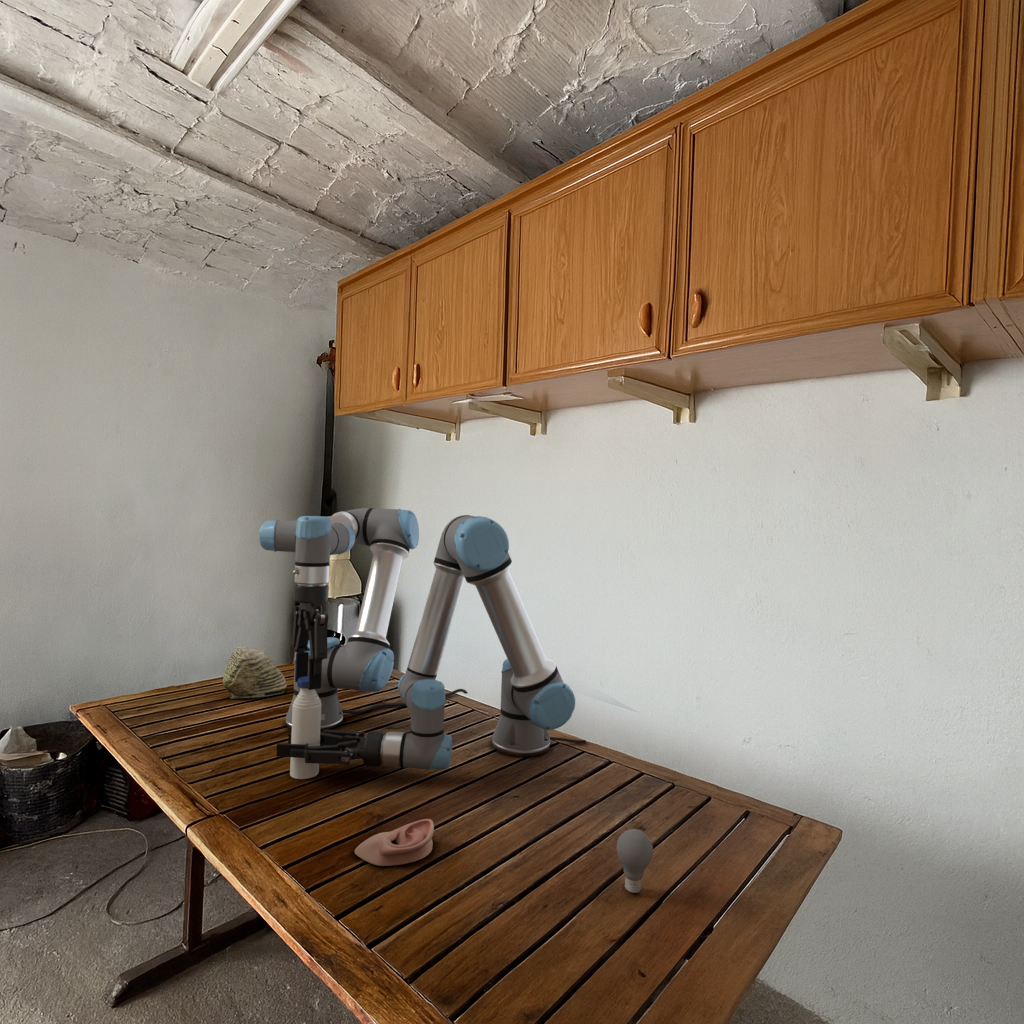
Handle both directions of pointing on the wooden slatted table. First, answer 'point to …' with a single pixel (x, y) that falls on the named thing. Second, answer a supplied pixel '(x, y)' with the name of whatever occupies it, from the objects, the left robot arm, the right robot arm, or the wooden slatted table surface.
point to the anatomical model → (398, 844)
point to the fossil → (252, 674)
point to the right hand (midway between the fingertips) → (283, 743)
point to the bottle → (305, 731)
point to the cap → (303, 682)
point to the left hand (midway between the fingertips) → (307, 684)
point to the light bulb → (634, 857)
